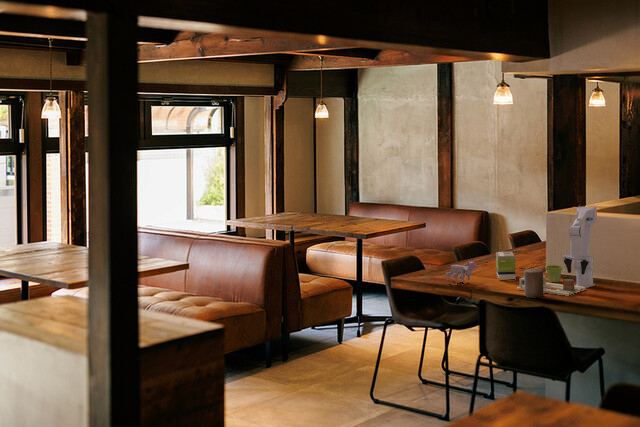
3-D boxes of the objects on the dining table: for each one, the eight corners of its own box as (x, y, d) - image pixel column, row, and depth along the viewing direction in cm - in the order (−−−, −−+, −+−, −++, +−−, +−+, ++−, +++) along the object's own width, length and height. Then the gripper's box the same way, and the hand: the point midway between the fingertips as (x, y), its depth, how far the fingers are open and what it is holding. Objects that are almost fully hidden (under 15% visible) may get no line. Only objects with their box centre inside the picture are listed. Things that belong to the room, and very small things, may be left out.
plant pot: (556, 284, 445) (556, 268, 444) (542, 282, 452) (542, 267, 451) (566, 281, 452) (565, 266, 451) (551, 279, 459) (551, 264, 458)
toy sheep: (484, 284, 453) (483, 261, 451) (475, 288, 445) (473, 264, 443) (454, 281, 466) (452, 258, 464) (444, 285, 458) (443, 262, 456)
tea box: (496, 275, 476) (495, 251, 474) (513, 275, 475) (513, 251, 473) (498, 280, 461) (497, 255, 460) (516, 280, 460) (515, 255, 458)
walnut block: (566, 288, 425) (566, 278, 425) (574, 289, 422) (574, 279, 422) (563, 289, 422) (563, 280, 422) (570, 290, 419) (570, 281, 419)
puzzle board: (534, 283, 448) (534, 281, 448) (585, 289, 428) (585, 287, 427) (516, 290, 434) (516, 287, 434) (567, 296, 413) (567, 293, 413)
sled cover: (532, 282, 444) (532, 272, 443) (546, 284, 438) (545, 274, 438) (519, 287, 433) (519, 276, 433) (532, 288, 428) (532, 278, 427)
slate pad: (565, 287, 427) (565, 287, 427) (578, 289, 422) (578, 288, 422) (559, 290, 422) (559, 289, 422) (571, 291, 417) (571, 291, 417)
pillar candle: (547, 296, 415) (546, 268, 413) (530, 298, 412) (530, 270, 410) (537, 293, 424) (536, 265, 422) (520, 295, 421) (520, 267, 420)
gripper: (559, 248, 423) (559, 273, 425) (585, 250, 413) (585, 276, 415) (566, 246, 428) (566, 271, 430) (591, 248, 418) (591, 273, 420)
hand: (576, 273), depth 423 cm, fingers open, 7 cm apart
